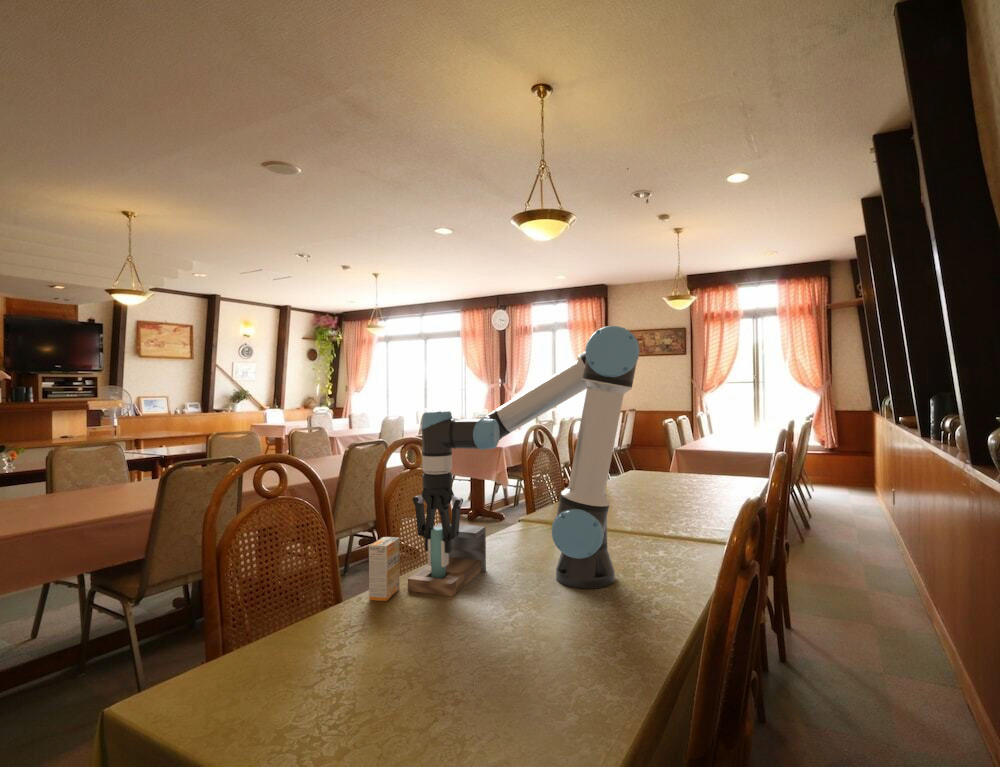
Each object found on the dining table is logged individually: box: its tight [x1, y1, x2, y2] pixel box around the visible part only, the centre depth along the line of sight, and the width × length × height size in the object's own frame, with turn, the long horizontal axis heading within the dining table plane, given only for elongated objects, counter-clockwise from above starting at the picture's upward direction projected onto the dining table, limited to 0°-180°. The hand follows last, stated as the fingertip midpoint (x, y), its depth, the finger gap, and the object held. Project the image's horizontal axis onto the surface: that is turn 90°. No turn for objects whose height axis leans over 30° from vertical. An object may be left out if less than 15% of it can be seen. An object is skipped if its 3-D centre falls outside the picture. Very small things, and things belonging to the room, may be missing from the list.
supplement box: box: [368, 536, 400, 602], centre depth 133 cm, size 8×5×13 cm, turn 168°
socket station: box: [407, 522, 487, 597], centre depth 143 cm, size 14×20×12 cm
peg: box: [431, 528, 446, 579], centre depth 138 cm, size 4×4×14 cm
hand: (438, 564), depth 138 cm, fingers closed on peg, 3 cm apart
